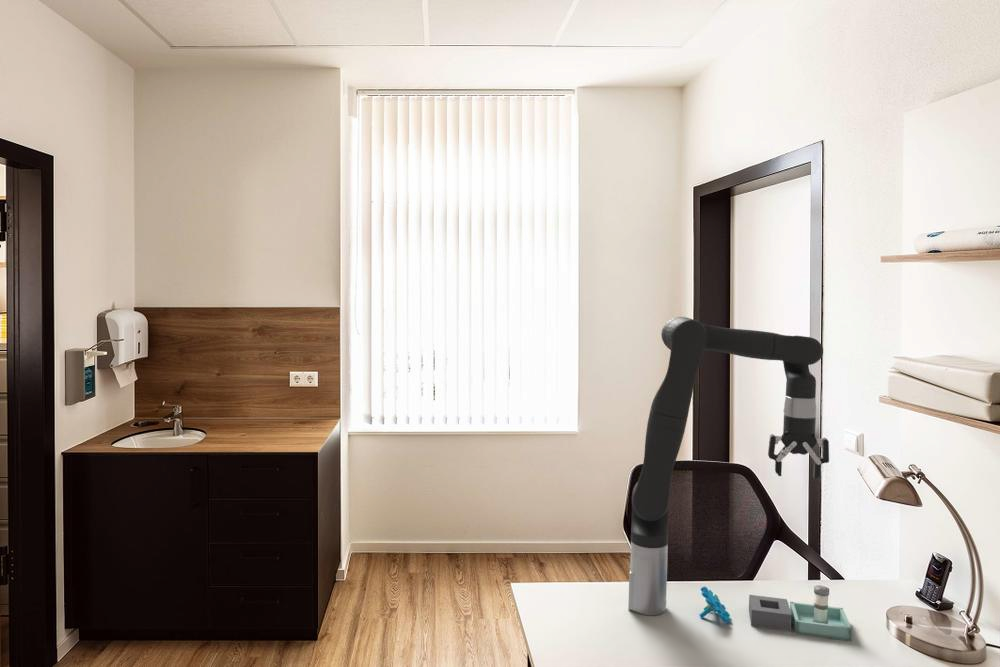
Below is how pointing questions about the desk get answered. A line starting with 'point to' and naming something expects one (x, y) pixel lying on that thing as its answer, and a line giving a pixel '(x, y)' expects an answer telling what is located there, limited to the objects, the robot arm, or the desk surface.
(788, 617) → the block
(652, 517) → the robot arm
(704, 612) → the blue plastic angular piece
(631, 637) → the desk surface
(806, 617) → the parts tray
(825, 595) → the cylinder
